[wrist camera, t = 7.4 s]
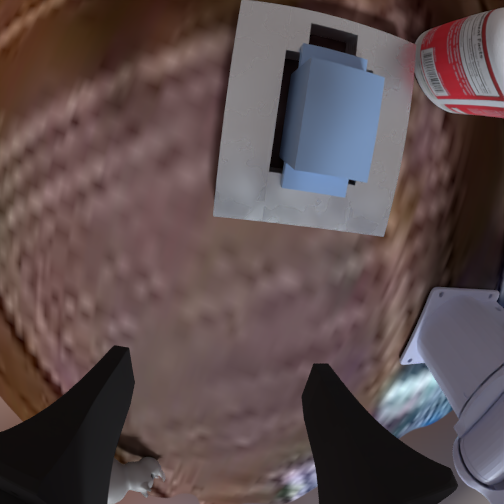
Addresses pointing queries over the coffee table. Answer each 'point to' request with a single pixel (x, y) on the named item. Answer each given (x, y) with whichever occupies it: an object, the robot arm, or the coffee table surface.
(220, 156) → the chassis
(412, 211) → the coffee table surface
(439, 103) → the pill bottle
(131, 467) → the round bodied animal figurine
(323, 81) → the block
